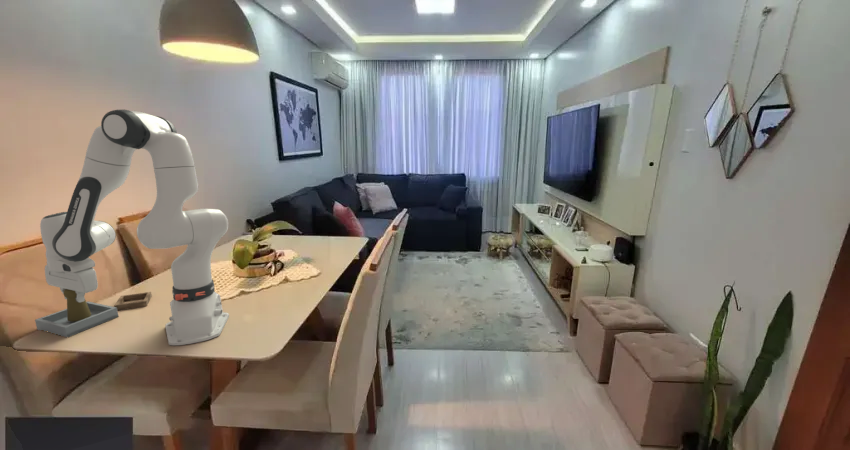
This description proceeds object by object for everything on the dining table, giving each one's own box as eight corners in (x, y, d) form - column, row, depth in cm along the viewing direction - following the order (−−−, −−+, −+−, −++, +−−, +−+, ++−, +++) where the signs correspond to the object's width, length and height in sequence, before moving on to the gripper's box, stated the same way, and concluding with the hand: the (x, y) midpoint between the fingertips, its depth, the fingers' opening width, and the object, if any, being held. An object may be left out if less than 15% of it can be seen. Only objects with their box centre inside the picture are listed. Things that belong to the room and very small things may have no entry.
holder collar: (146, 306, 139) (146, 301, 139) (114, 310, 135) (113, 305, 135) (151, 296, 148) (151, 291, 147) (121, 300, 144) (120, 295, 143)
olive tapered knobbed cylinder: (77, 322, 123) (71, 291, 120) (62, 320, 124) (55, 289, 121) (96, 313, 129) (90, 284, 126) (81, 312, 130) (75, 282, 127)
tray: (118, 316, 131) (116, 307, 130) (67, 337, 117) (65, 327, 116) (89, 310, 135) (88, 301, 135) (37, 329, 122) (34, 319, 121)
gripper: (34, 260, 122) (43, 299, 125) (75, 268, 115) (84, 309, 119) (58, 254, 128) (66, 292, 131) (98, 262, 121) (105, 301, 124)
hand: (75, 300), depth 125 cm, fingers closed on olive tapered knobbed cylinder, 4 cm apart
